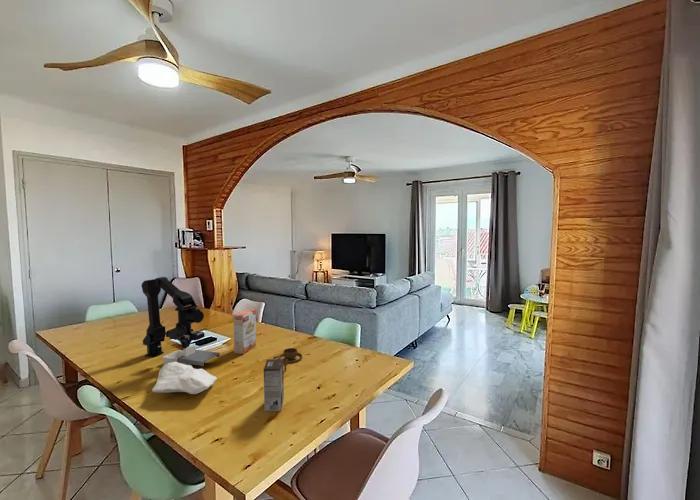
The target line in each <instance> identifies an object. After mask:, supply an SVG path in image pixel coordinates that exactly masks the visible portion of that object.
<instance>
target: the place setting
mask: <svg viewBox="0 0 700 500" xmlns="http://www.w3.org/2000/svg"><path fill="white" fill-rule="evenodd" d="M298 356H299V357H300V358H297V357H298ZM283 357H284V358H283ZM295 358H297V359H295ZM273 359H283V372H287V366H288V364H294V363H297V362H300V361H301V360H302V359H303V354H302V353H300V352H298V349H297V348H295V347H288V348H284V349H283V353H282V354H279V355H275V356H273Z"/></svg>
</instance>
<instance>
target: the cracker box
mask: <svg viewBox="0 0 700 500" xmlns="http://www.w3.org/2000/svg"><path fill="white" fill-rule="evenodd" d="M256 313H257V312H256V309H253V308H252V309H251V308H246V309H244V310H242V311H240V312H238V313H236V314H234V315H233V343H234V344H233V346H234V347H233V348H234V349H233V351H234V352H233V353H234V354H236V355H245V354H246V353H247V352H249V351H250V350H251V349H253V348H254V347H256V343H257V335H256V334H257V331H256V330H257V325H256V323H257V322H256V321H257V320H256V318H257V317H256V316H257V315H256Z"/></svg>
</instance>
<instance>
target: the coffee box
mask: <svg viewBox="0 0 700 500" xmlns="http://www.w3.org/2000/svg"><path fill="white" fill-rule="evenodd" d="M283 359H284V358H281V359H279V358H273V359H272V358H271V359H266V362H265V365H264V367H263V395H264V396H263V397H264V398H263V401H264V402H263V403H264V404H263V405H264V406H263V407H264V412H282V409H283V405H284V400H285V385H284V384H285V383H284V379H285V378H284V366H283Z"/></svg>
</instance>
